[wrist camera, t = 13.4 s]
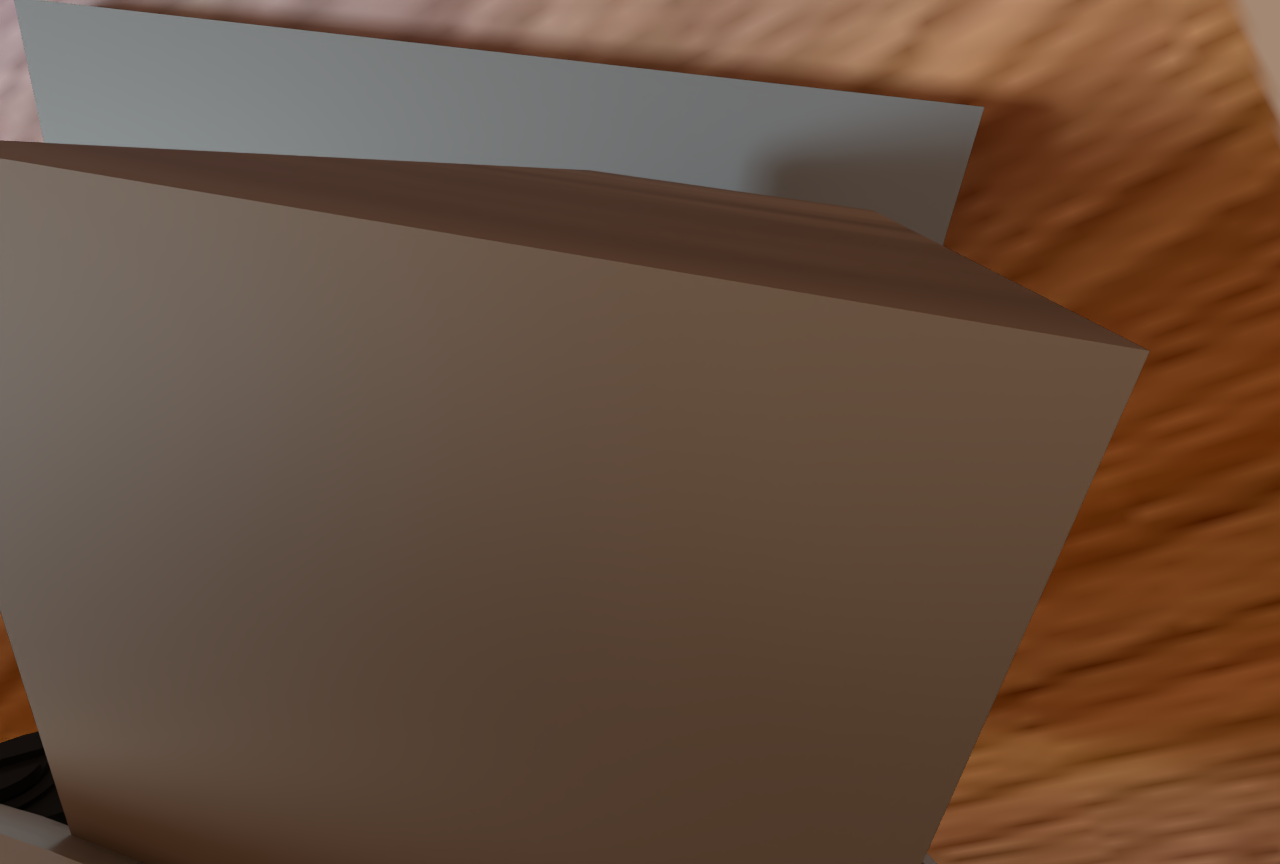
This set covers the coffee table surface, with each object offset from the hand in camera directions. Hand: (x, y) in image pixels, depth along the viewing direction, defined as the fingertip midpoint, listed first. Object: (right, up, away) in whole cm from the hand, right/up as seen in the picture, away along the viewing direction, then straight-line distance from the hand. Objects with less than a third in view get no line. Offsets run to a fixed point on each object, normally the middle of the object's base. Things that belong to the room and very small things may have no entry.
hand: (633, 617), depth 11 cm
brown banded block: (+1, +1, +3) cm, 3 cm away
